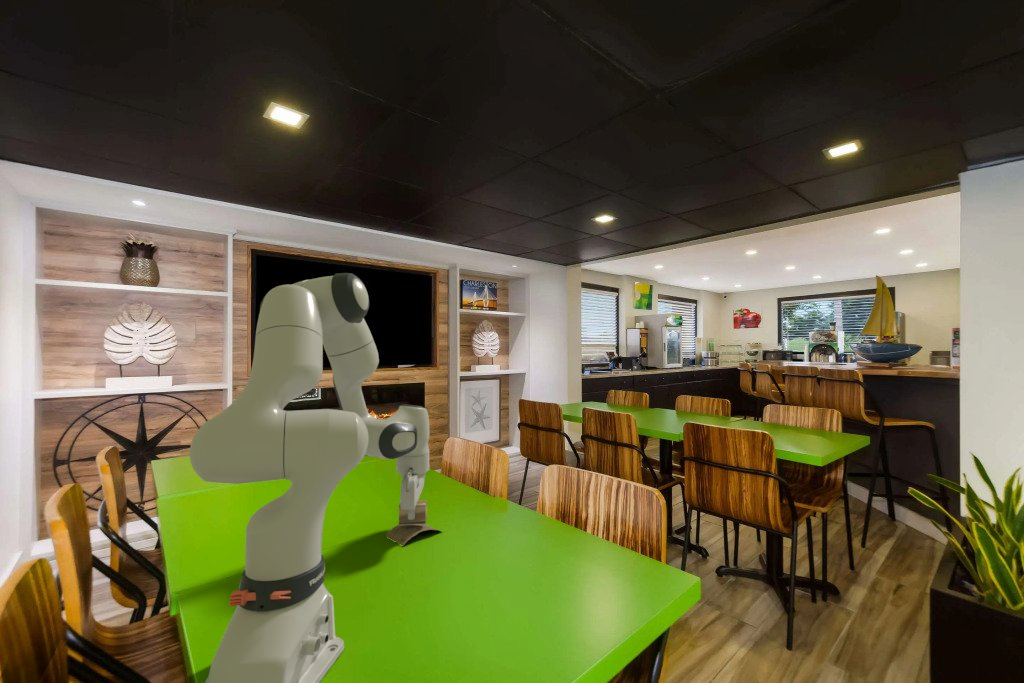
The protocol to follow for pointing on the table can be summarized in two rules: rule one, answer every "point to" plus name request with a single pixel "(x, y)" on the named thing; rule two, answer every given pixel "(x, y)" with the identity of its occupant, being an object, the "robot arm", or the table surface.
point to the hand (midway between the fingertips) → (412, 515)
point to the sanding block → (419, 514)
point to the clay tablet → (406, 532)
